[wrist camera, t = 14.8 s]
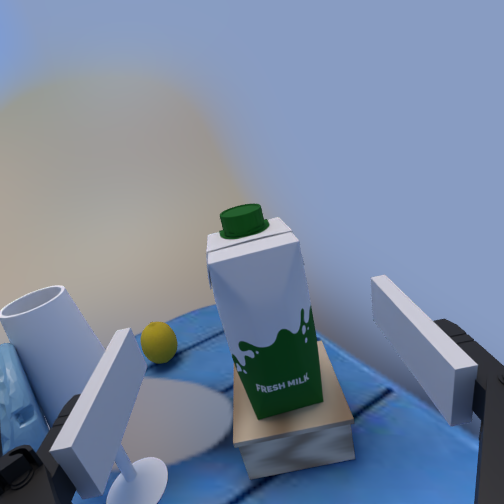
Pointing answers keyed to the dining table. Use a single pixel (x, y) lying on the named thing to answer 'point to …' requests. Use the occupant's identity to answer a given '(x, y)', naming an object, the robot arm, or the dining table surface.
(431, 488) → the dining table surface
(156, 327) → the lemon
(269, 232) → the fresh milk carton
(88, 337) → the champagne flute
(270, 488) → the dining table surface
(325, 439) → the oak riser
